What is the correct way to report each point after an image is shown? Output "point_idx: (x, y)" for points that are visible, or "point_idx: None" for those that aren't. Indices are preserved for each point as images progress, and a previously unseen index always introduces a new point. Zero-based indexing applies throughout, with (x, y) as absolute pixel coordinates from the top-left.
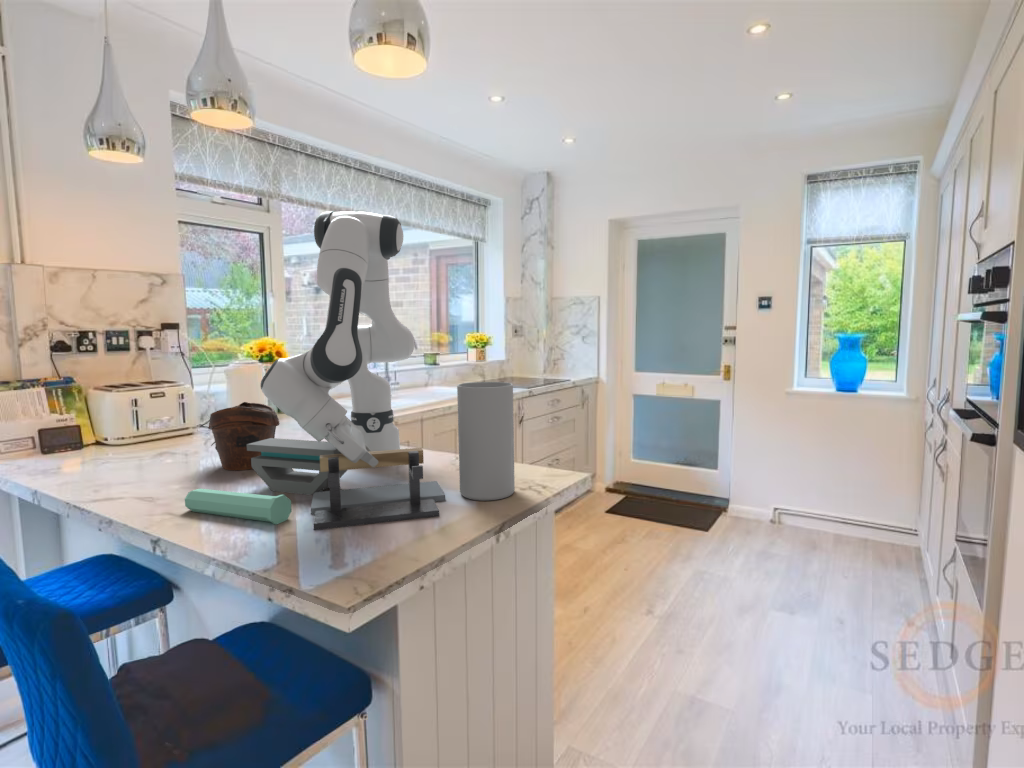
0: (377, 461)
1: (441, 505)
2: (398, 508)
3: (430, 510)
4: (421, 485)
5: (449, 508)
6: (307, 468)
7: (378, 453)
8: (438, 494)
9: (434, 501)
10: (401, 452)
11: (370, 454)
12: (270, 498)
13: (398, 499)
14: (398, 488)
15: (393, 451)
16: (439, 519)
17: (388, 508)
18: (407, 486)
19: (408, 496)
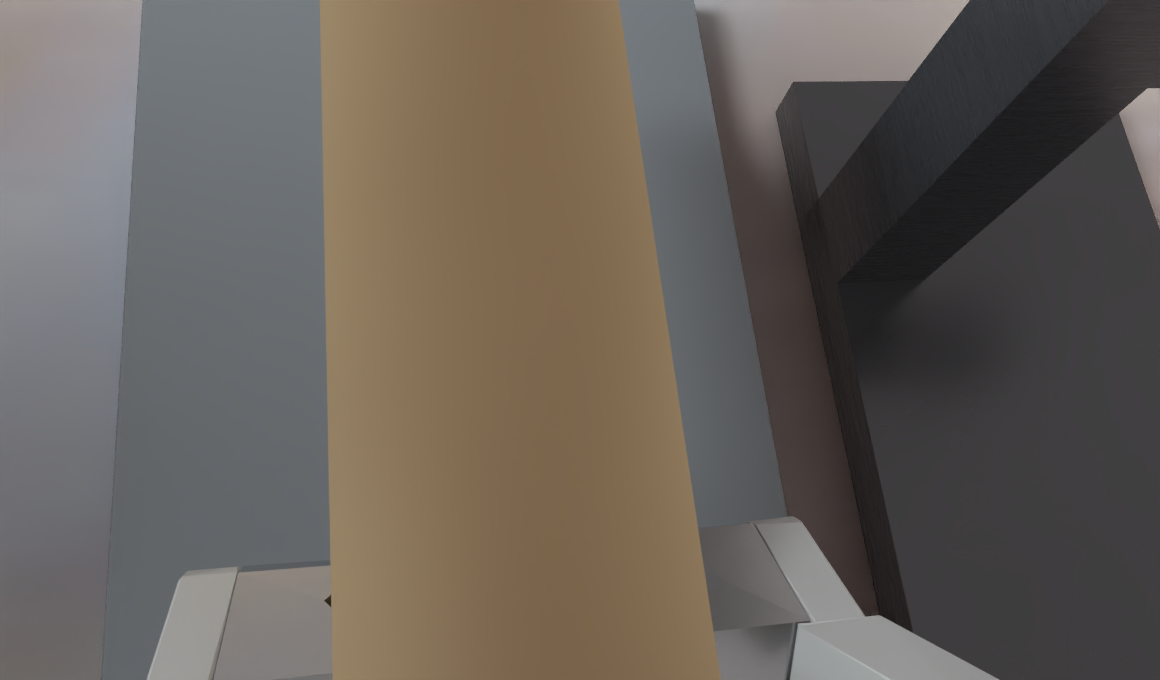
0: (795, 535)
1: (810, 58)
2: (1050, 396)
3: (1112, 140)
4: (275, 127)
5: (895, 17)
6: None
7: (666, 482)
8: (660, 23)
9: (870, 81)
10: (618, 15)
11: (987, 674)
12: None
13: (758, 388)
14: (315, 375)
15: (525, 147)
16: (1144, 118)
17: (1046, 492)
18: (258, 271)
19: (672, 284)
